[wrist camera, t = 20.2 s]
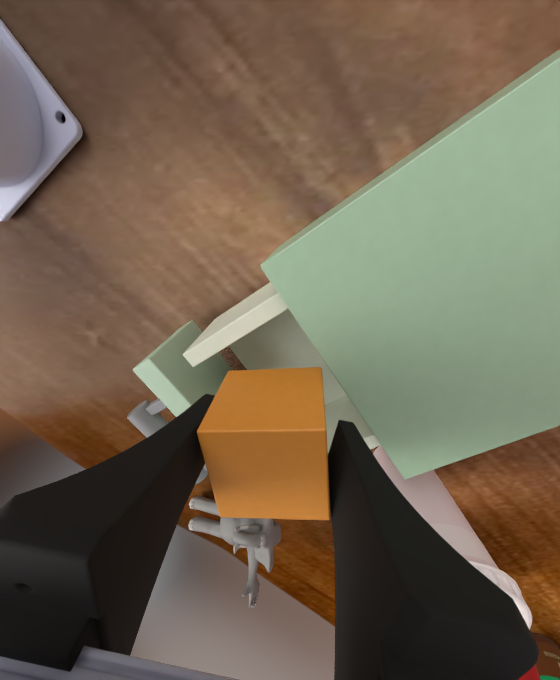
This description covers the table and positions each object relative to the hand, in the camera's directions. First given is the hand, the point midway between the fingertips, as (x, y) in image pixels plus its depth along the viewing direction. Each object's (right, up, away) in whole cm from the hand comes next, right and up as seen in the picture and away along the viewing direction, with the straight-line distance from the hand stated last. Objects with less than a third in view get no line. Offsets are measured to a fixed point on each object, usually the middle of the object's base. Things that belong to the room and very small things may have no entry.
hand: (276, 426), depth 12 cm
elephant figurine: (-3, -10, +13) cm, 17 cm away
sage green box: (+9, +8, +4) cm, 13 cm away
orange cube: (0, +1, +1) cm, 1 cm away
